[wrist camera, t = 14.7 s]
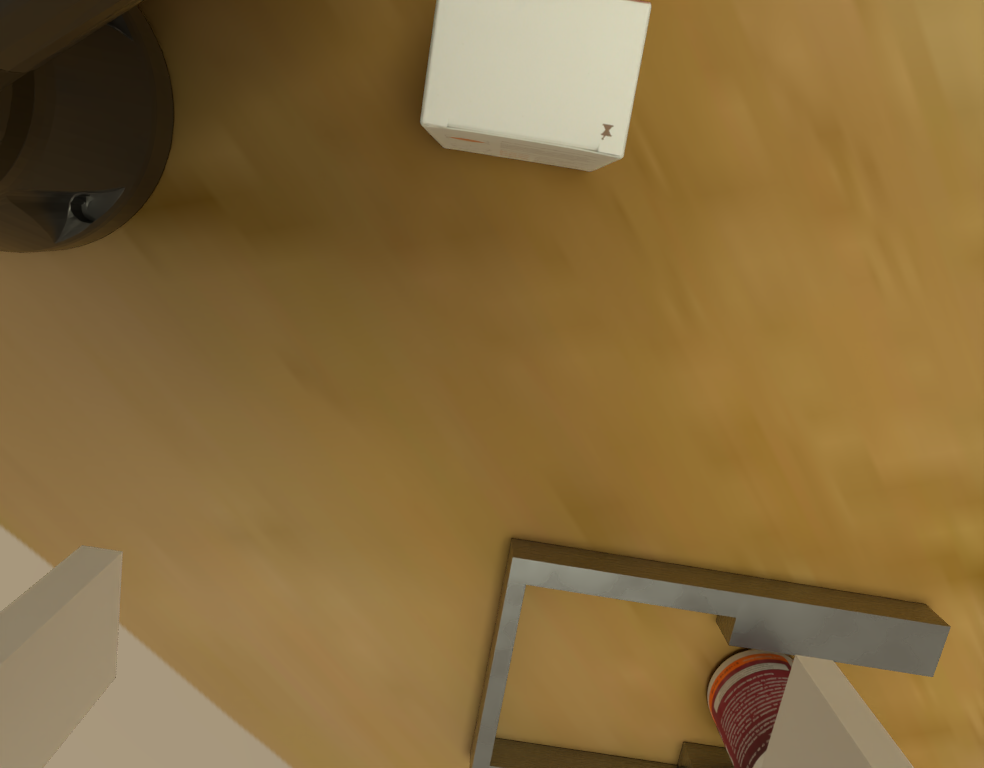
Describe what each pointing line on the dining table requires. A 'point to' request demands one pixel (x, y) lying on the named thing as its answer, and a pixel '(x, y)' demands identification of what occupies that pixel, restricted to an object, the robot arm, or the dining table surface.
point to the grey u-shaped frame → (741, 618)
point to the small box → (535, 78)
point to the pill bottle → (748, 702)
